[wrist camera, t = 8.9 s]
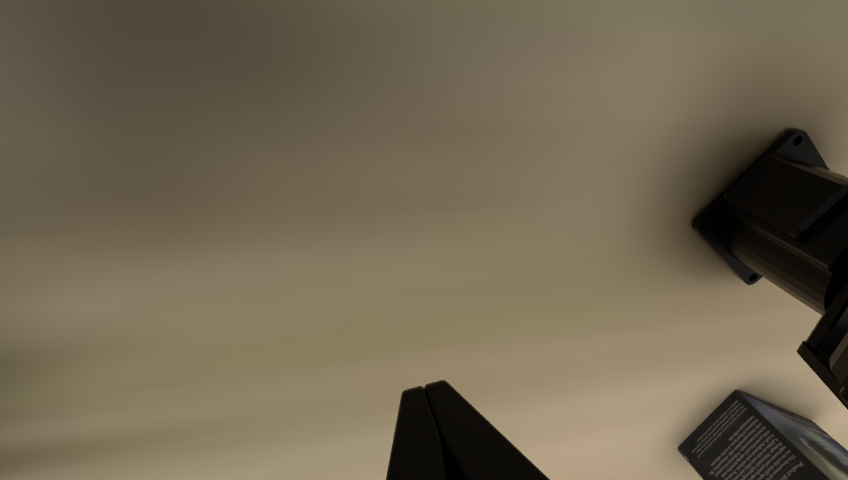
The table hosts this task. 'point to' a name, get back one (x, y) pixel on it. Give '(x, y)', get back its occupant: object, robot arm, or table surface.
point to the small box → (762, 445)
